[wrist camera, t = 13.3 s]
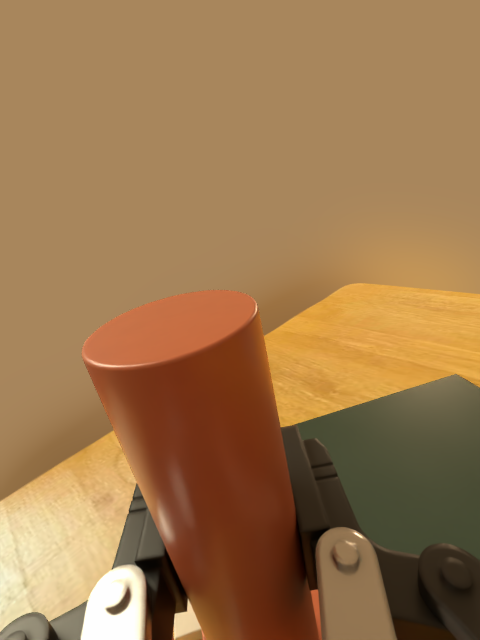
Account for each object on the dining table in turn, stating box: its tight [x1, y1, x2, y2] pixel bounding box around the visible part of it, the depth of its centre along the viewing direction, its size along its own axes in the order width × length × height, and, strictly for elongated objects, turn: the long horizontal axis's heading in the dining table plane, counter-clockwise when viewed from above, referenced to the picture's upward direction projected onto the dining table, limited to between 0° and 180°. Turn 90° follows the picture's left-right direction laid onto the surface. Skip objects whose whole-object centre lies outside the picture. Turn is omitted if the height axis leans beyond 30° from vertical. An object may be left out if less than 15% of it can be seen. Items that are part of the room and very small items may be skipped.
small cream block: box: [174, 599, 202, 640], centre depth 16 cm, size 2×3×1 cm, turn 13°
